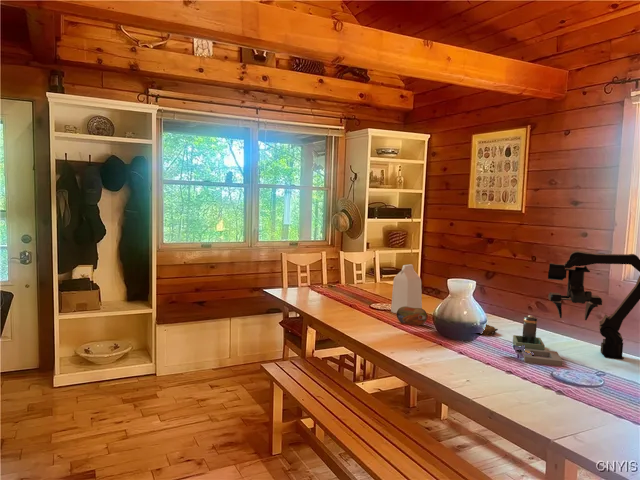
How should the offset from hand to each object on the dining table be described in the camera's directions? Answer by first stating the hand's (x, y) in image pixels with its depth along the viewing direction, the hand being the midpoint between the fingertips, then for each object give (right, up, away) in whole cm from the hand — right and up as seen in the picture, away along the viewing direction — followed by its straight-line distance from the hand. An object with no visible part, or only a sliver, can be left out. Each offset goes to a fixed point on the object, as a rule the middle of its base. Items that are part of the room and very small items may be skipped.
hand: (573, 319), depth 185 cm
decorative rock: (-29, -11, +26) cm, 40 cm away
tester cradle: (-19, -14, -11) cm, 26 cm away
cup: (-18, -13, +2) cm, 22 cm away
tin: (-59, -9, +36) cm, 70 cm away
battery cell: (-18, -12, +2) cm, 21 cm away
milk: (-58, -7, +58) cm, 82 cm away
